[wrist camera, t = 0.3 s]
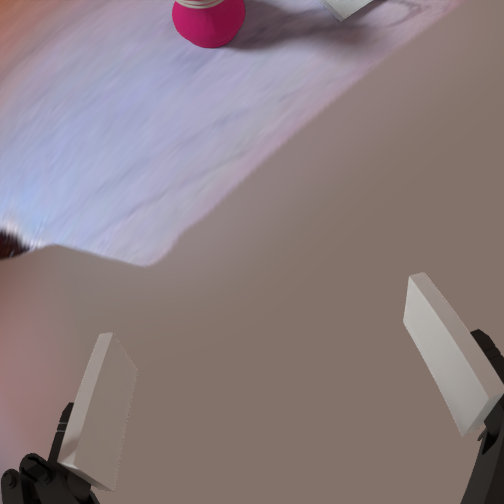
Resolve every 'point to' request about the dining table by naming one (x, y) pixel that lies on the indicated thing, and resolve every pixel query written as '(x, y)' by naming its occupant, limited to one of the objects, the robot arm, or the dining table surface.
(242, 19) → the pepper mill
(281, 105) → the dining table surface
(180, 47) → the dining table surface
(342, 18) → the board
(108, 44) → the dining table surface
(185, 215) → the dining table surface
